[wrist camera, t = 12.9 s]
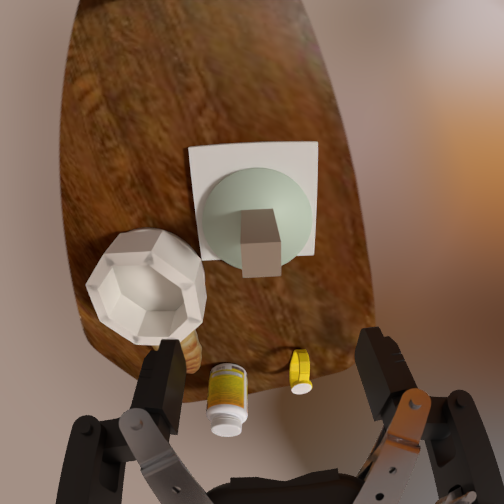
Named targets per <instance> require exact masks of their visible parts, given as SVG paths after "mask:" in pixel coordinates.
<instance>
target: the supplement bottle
mask: <svg viewBox="0 0 504 504" xmlns="http://www.w3.org/2000/svg"><path fill="white" fill-rule="evenodd" d="M247 403H248V402H247V373H246V371H245V370H244V369H243V368H242V367H241V366H239V365H236V364H232V363H223V364H219V365H217V366H215V367H214V368H212V370H211V372H210V377H209V388H208V399H207V410H206V415H207V418H208V419H209V420H210V421H211V431H212V432H213V433H214V434H216V435H219V436H223V437H232V436H236V435H239V434H240V433H241V431H242V423H244V422H245V421H246V419H247V417H248V404H247Z"/></svg>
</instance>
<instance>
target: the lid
mask: <svg viewBox="0 0 504 504" xmlns="http://www.w3.org/2000/svg"><path fill="white" fill-rule="evenodd" d="M312 222H313V217H312V209H311V206H310V203H309V200H308V198H307V196H306V194H305V193H304V191H303V190H302V189H301V187H300V186H299V185H298V184H297V183H296V182H295V181H294V180H293V179H291V178H290V177H289V176H287V175H285V174H283V173H281V172H279V171H276V170H273V169H269V168H257V167H255V168H247V169H243V170H239V171H237V172H234V173H232V174H230V175H228V176H227V177H225V178H224V179H223V180H221V181H220V182H219V183H218V184H217V185H216V186H215V187H214V189H213V190H212V191H211V193H210V195H209V196H208V198H207V201H206V204H205V206H204V210H203V216H202V227H203V232H204V235H205V238H206V241H207V243H208V244H209V246H210V248H211V249H212V250H213V252H214V253H215V254H216V255H217V256H218V257H219V258H221V259H222V260H223V261H225V262H226V263H228V264H230V265H232V266H234V267H237V268H240V269H242V273H243V278H251V277H270V276H281V265H284V264H286V263H287V262H289V261H290V260H292V259H293V258H294V257H295V256H297V254H298V253H299V252H300V251H301V250H302V249H303V247H304V246H305V244H306V243H307V241H308V239H309V236H310V233H311V229H312Z"/></svg>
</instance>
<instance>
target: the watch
mask: <svg viewBox="0 0 504 504" xmlns="http://www.w3.org/2000/svg"><path fill="white" fill-rule="evenodd" d="M289 371H290V372H289V379H290V386H291V390H292V392H293V393H294V394H304V393H307V392H309V391H310V390H311V389H312V383H311V381H309V375H310V363H309V356H308V353H307V351H306V350H303V349H296V350H294V352H293V355H292V358H291V362H290V369H289Z"/></svg>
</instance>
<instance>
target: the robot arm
mask: <svg viewBox="0 0 504 504" xmlns="http://www.w3.org/2000/svg"><path fill="white" fill-rule="evenodd" d="M404 360H405V359H404V357H403V355H402V354H401V351H400V349H399V347H398V345H397V343H396V342H395V341H394V340H393V339H391V338H390V337H389V336H387V337H384V336H383V334H382V332H381V330H380V328H379V327H370V328H363V329H361V332H360V335H359V339H358V343H357V346H356V350H355V362H356V366H357V369H358V372H359V375H360V378H361V381H362V384H363V386H364V390H365V393H366V396H367V399H368V402H369V405H370V409H371V412H372V415H373V419H374V421H377V420H383V423H384V425H383V427H382V429H381V431H380V433H379V435H378V438H377V440H376V442H375V444H374V446H373V448H372V450H371V452H370V454H369V456H368V458H367V460H366V461H365V463H364V464H363V466H362V468H361V469H360V471H359V472H358V474H357V476H356V477H354V476H351V475H348V474H342V473H338V469H337V468H336V469H331V470H325V471H318V472H312V473H309V474H306V475H304V476H300V477H297V478H295V479H292V480H288V481H277V480H271V479H265V478H259V477H244V478H230V480H231V481H230V483H226V484H223V485H220V486H218V487H215V488H213V489H212V490H210V491H208V492H207V493H206V492H205V491H204V489H203V488H202V487H201V486H200V485H199V483H198V482H197V481H196V480H195V478H194V477H193V476H192V474H191V473H190V472H189V471H188V469H187V468H186V467H185V465H184V464H183V463H182V461H181V460H180V458H179V457H178V456H177V454H176V453H175V451H174V450H173V448H172V447H171V446H170V444H169V438H170V434H173V435H177V434H178V427H179V419H180V413H181V405H182V399H183V392H184V386H185V379H186V372H187V367H186V360H185V357H184V354H183V351H182V347H181V344H180V341H179V340H178V339H162V340H161V341H160V345H159V348H158V351H154V350H151V351H150V352H149V354H148V355H147V356H146V357H145V358H144V361H143V364H142V368H141V371H140V375H139V378H138V382H137V386H136V389H135V393H134V397H133V400H132V404H131V407H130V409H129V410H127V411H126V412H124V413H123V414H122V416H121V417H120V418H117V419H112V420H105V421H98V420H97V419H96V418H95V417H93V416H90V415H85V416H81V417H79V418H78V419H77V420H76V421H75V422H74V424H73V426H72V430H71V434H70V438H69V441H68V445H67V450H66V454H65V458H64V462H63V467H62V472H61V477H60V482H59V487H58V493H57V499H56V504H121V501H122V491H123V481H124V472H125V465H126V462H128V461H135V460H137V461H138V463H139V465H140V467H141V472H142V475H143V476H144V478H145V479H146V481H147V483H148V484H149V486H150V488H151V489H152V491H153V492H154V494H155V495H156V497H157V498H158V500H159V501H160V503H161V504H398V502H399V500H400V498H401V496H402V494H403V492H404V490H405V487H406V485H407V483H408V481H409V478H410V476H411V474H412V471H413V469H414V466H415V464H416V461H417V458H418V456H419V453H420V449H421V447H420V446H419V442H420V440H425V444H426V447H427V450H428V455H429V458H430V462H431V466H432V470H433V474H434V478H435V483H436V487H437V492H438V496H439V500H438V501H437V502H436V503H435V504H504V485H503V482H502V478H501V475H500V472H499V468H498V465H497V462H496V459H495V456H494V452H493V450H492V447H491V444H490V441H489V438H488V435H487V433H486V430H485V427H484V425H483V422H482V420H481V417H480V415H479V413H478V410H477V408H476V405H475V403H474V401H473V399H472V397H471V395H470V394H469V393H467V392H466V391H463V390H456V391H453V392H452V393H451V394H450V395H449V396H448V397H431V396H429V395H428V394H427V393H426V392H425V391H423V390H421V389H418V387H417V386H416V383H415V381H414V379H413V377H412V374H411V372H410V370H409V368H408V366H407V364H406V362H405V361H404Z"/></svg>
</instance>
